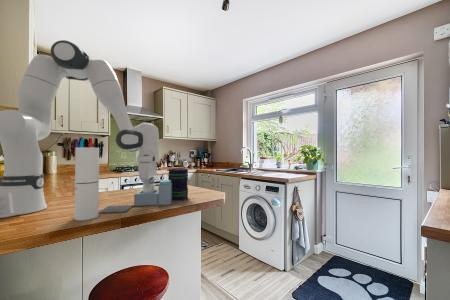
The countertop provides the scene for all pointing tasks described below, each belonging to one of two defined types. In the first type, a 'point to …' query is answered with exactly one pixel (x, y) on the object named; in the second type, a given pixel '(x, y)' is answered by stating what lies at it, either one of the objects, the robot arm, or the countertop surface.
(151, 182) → the filter cartridge
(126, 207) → the rubber mat
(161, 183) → the plunger
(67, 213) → the countertop surface
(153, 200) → the filter housing
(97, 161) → the cylindrical container
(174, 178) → the storage jar
